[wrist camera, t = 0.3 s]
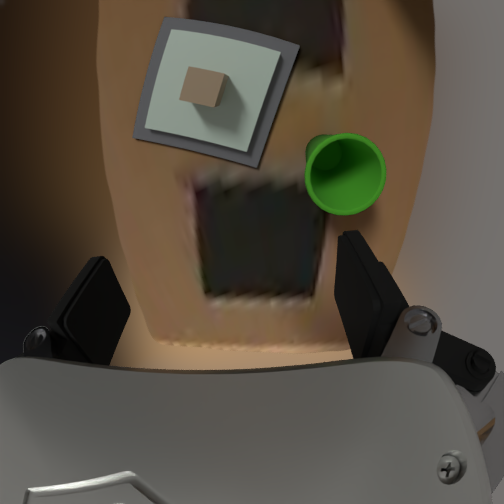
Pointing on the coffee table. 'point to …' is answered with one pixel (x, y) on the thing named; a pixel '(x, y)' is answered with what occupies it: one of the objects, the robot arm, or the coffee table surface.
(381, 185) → the cup
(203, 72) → the lid
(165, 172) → the coffee table surface
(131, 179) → the coffee table surface
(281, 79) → the mat
